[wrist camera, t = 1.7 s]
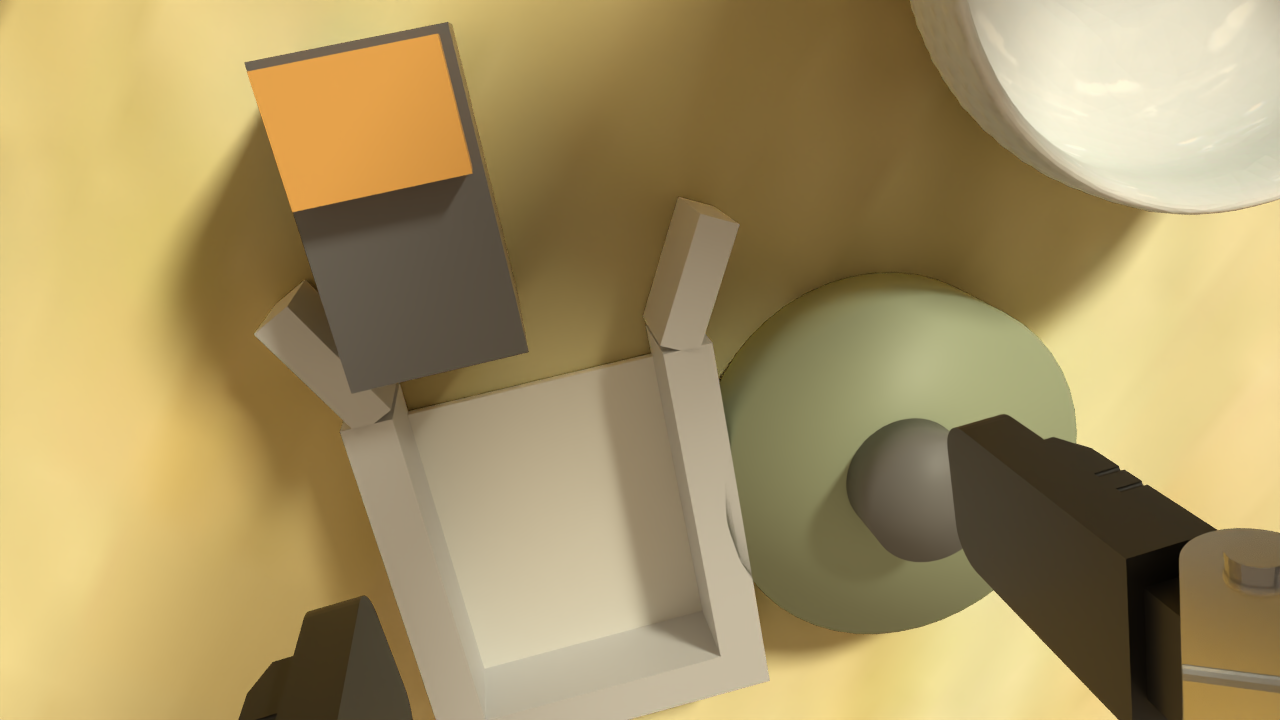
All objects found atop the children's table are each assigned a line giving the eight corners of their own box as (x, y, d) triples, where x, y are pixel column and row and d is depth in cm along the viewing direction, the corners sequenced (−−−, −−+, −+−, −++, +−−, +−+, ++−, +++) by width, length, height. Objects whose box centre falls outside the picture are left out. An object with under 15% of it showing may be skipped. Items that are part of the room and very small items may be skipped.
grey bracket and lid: (269, 287, 28) (229, 338, 23) (1014, 121, 30) (1113, 138, 25) (416, 717, 34) (407, 827, 29) (1032, 551, 36) (1116, 628, 31)
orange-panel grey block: (292, 56, 26) (231, 64, 19) (452, 24, 26) (446, 21, 20) (373, 324, 29) (345, 411, 22) (517, 291, 29) (531, 367, 23)
